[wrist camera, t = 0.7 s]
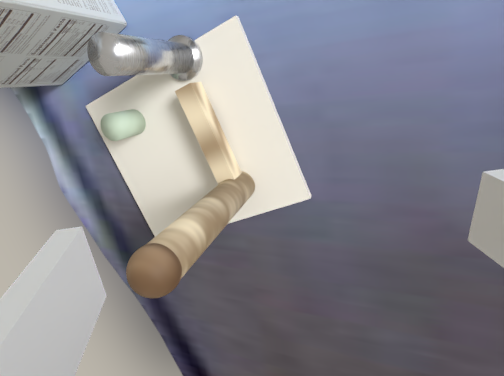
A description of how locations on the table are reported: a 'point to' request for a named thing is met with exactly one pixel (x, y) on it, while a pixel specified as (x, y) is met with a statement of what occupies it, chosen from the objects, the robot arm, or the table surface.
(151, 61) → the hinge post
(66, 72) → the supplement box
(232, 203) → the gate
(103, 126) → the post
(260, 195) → the board
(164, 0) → the table surface
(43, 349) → the robot arm
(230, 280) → the table surface
